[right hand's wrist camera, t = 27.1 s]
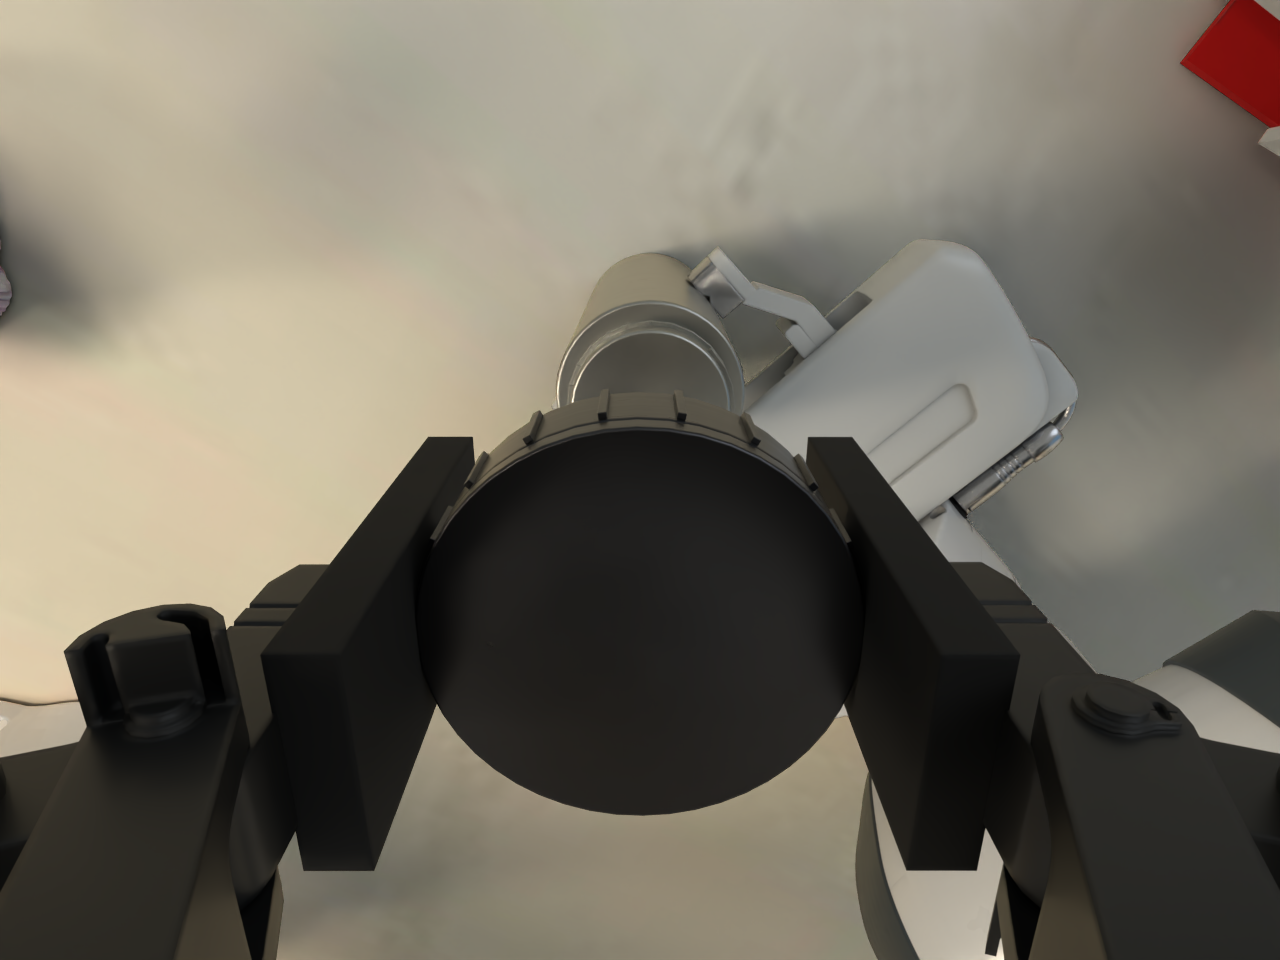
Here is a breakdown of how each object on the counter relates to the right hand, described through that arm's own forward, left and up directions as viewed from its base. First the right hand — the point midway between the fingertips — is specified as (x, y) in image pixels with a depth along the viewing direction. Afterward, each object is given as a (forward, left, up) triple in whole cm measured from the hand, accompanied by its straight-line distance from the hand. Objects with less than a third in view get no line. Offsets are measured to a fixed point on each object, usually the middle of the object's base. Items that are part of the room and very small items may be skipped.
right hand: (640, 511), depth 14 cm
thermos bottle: (0, 0, -22) cm, 22 cm away
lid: (0, 0, +4) cm, 4 cm away
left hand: (0, 0, -15) cm, 15 cm away
